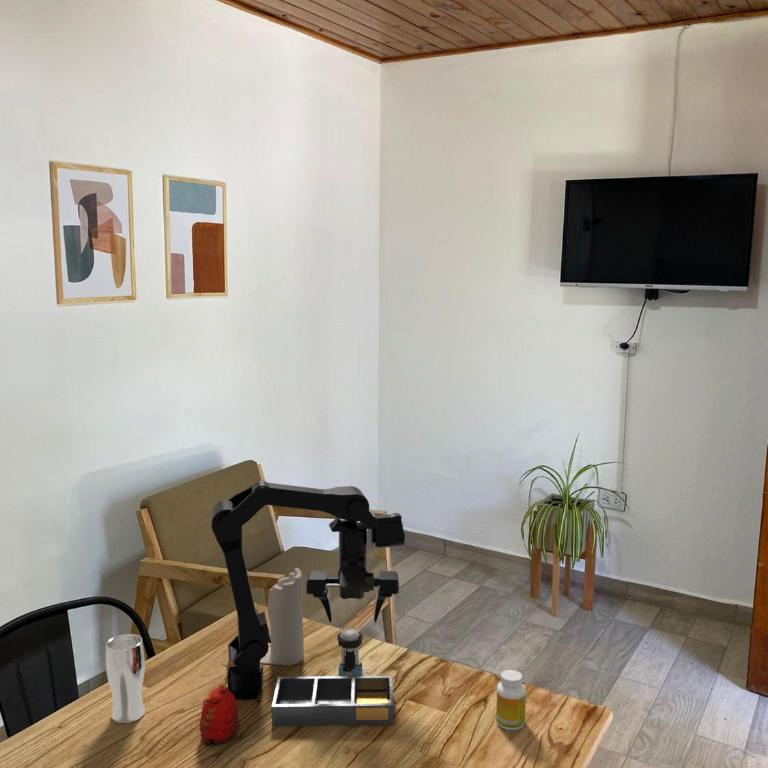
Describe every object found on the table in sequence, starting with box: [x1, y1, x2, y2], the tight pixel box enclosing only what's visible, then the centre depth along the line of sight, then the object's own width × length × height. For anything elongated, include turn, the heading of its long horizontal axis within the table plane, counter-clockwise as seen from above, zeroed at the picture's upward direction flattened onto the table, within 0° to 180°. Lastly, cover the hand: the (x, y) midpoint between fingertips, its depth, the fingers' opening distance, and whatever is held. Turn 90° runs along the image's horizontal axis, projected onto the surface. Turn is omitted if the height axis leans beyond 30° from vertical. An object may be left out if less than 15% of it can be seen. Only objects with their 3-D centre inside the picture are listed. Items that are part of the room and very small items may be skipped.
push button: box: [336, 627, 370, 676], centre depth 163 cm, size 7×5×10 cm
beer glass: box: [105, 633, 146, 724], centre depth 150 cm, size 7×7×15 cm
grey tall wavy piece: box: [260, 567, 305, 666], centre depth 171 cm, size 7×14×20 cm, turn 82°
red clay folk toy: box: [198, 659, 240, 745], centre depth 143 cm, size 8×7×15 cm
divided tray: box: [271, 675, 395, 727], centre depth 152 cm, size 23×11×4 cm, turn 91°
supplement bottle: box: [495, 669, 527, 731], centre depth 147 cm, size 5×5×10 cm
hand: (352, 621), depth 162 cm, fingers open, 9 cm apart
